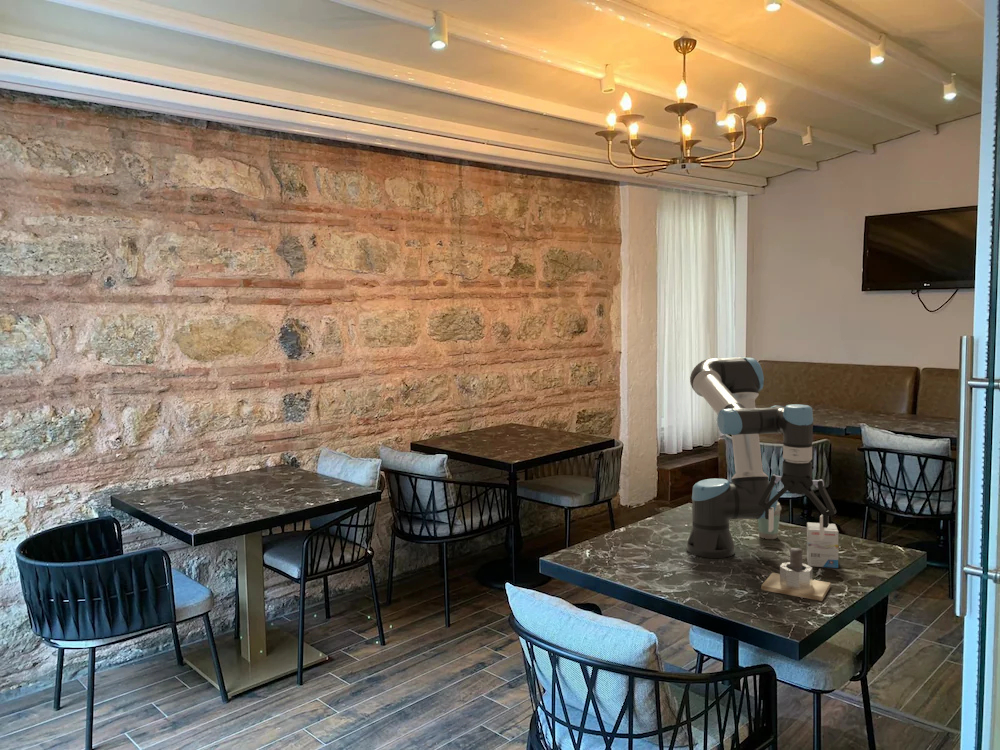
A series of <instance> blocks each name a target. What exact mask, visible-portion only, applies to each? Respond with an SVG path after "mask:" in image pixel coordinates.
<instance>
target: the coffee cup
mask: <svg viewBox="0 0 1000 750" xmlns="http://www.w3.org/2000/svg"><path fill="white" fill-rule="evenodd" d="M781 511H782V505H781V503H780V502H779V501H777V507H776V510H775V512H774V530H773V531H772V532H768V528H769V520H768V519H765V518H760V519H756V520H757V527H758V529H757V530H758V535H759V538H761V539H764V538H765V539H766V540H775V539H777V538H778V532H779V525H780V517H781V516H780V515H781Z"/></svg>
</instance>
